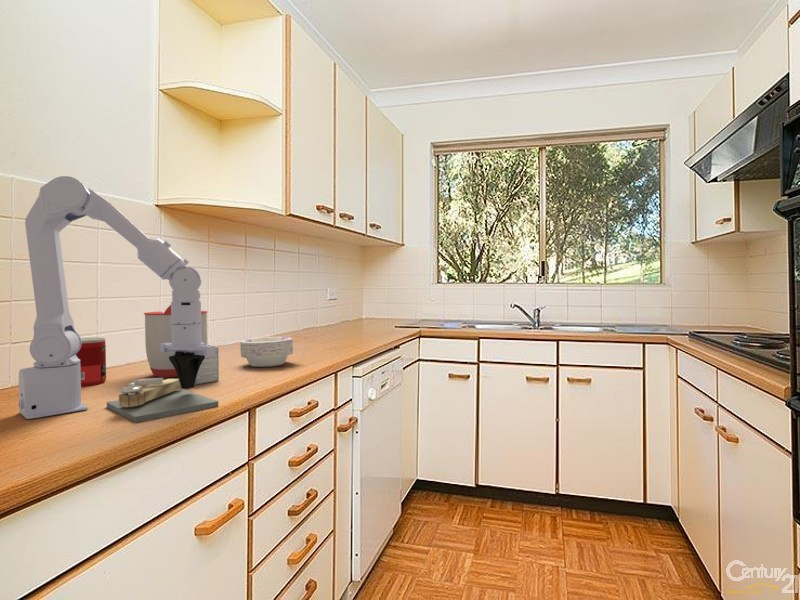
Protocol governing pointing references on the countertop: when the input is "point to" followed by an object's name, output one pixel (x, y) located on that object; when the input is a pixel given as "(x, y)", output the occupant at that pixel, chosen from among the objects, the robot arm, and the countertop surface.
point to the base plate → (164, 406)
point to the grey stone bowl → (266, 351)
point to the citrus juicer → (164, 341)
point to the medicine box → (208, 368)
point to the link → (149, 393)
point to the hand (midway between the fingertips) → (187, 388)
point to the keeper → (148, 381)
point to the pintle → (131, 390)
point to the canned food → (92, 361)
